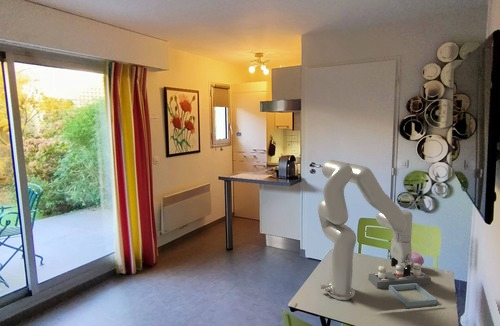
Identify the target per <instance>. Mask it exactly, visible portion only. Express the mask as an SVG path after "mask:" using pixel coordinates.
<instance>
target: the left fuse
mask: <svg viewBox="0 0 500 326" xmlns="http://www.w3.org/2000/svg"><path fill="white" fill-rule="evenodd" d="M377 271H378V272H377V273H378V278H379V279H380V280H381V279H385V278H386V273H387V267H386V266H385V265H378V270H377Z"/></svg>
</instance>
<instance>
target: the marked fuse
mask: <svg viewBox="0 0 500 326" xmlns="http://www.w3.org/2000/svg"><path fill="white" fill-rule="evenodd" d="M404 268H405V267H404V264H401V263H400V264H399V263H398V264H397V265H396V266H395V272H396V277H397V278H403V271H404Z"/></svg>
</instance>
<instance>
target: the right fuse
mask: <svg viewBox="0 0 500 326" xmlns="http://www.w3.org/2000/svg"><path fill="white" fill-rule="evenodd" d="M421 271H422V266H421V264H418V263H414V265H413V276H415V277H417V276H420V274H421Z"/></svg>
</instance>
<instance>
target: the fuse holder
mask: <svg viewBox="0 0 500 326" xmlns="http://www.w3.org/2000/svg"><path fill="white" fill-rule="evenodd" d="M367 276H368V280H367V281H369V282H370V283H371V285H373V286H374V287H375V288H376V289H385V288H388V289H389V285H400V284H412V283H417V284H418V285H419V286H423V285H431V281H432V280H431V279H432V278H431V277H430V276H429V275H427V274H426V273H424V272H423V271H422V270H421V274H420V276H417V277H415V276H413V271H411V272H410V276H403V278H397V277H396V271H390V272H387V271H386V278H385V279H381V280H380V279H379V278H378V272H377V273H368V275H367Z"/></svg>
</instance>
